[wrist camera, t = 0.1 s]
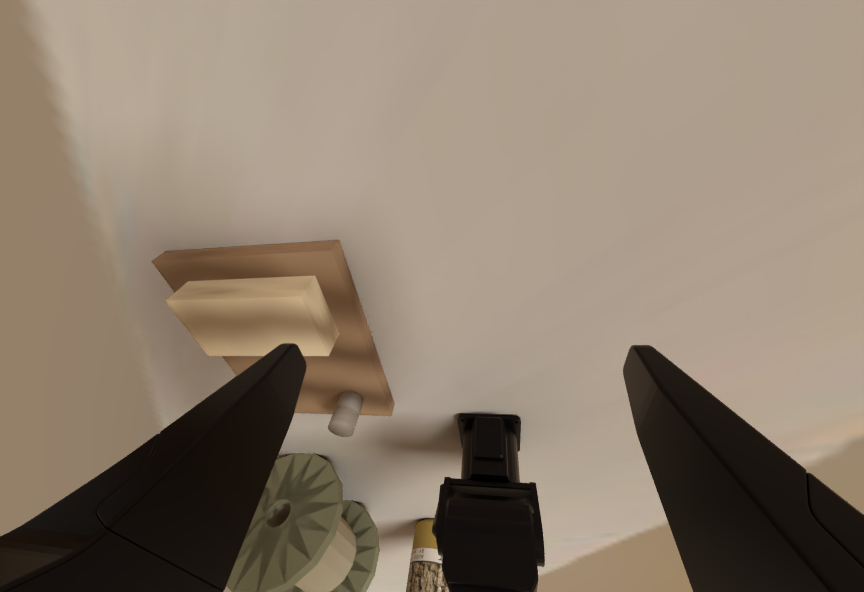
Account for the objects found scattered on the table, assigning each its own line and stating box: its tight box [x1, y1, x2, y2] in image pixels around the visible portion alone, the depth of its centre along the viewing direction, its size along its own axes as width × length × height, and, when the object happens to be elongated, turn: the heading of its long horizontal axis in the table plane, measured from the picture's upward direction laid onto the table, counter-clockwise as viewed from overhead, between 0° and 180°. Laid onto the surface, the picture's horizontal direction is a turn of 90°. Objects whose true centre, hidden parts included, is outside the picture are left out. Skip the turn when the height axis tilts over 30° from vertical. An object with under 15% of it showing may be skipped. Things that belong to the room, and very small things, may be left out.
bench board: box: [152, 240, 394, 437], centre depth 30 cm, size 20×15×5 cm
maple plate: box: [166, 275, 339, 356], centre depth 27 cm, size 6×11×2 cm, turn 98°
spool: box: [226, 453, 380, 592], centre depth 46 cm, size 16×15×15 cm
